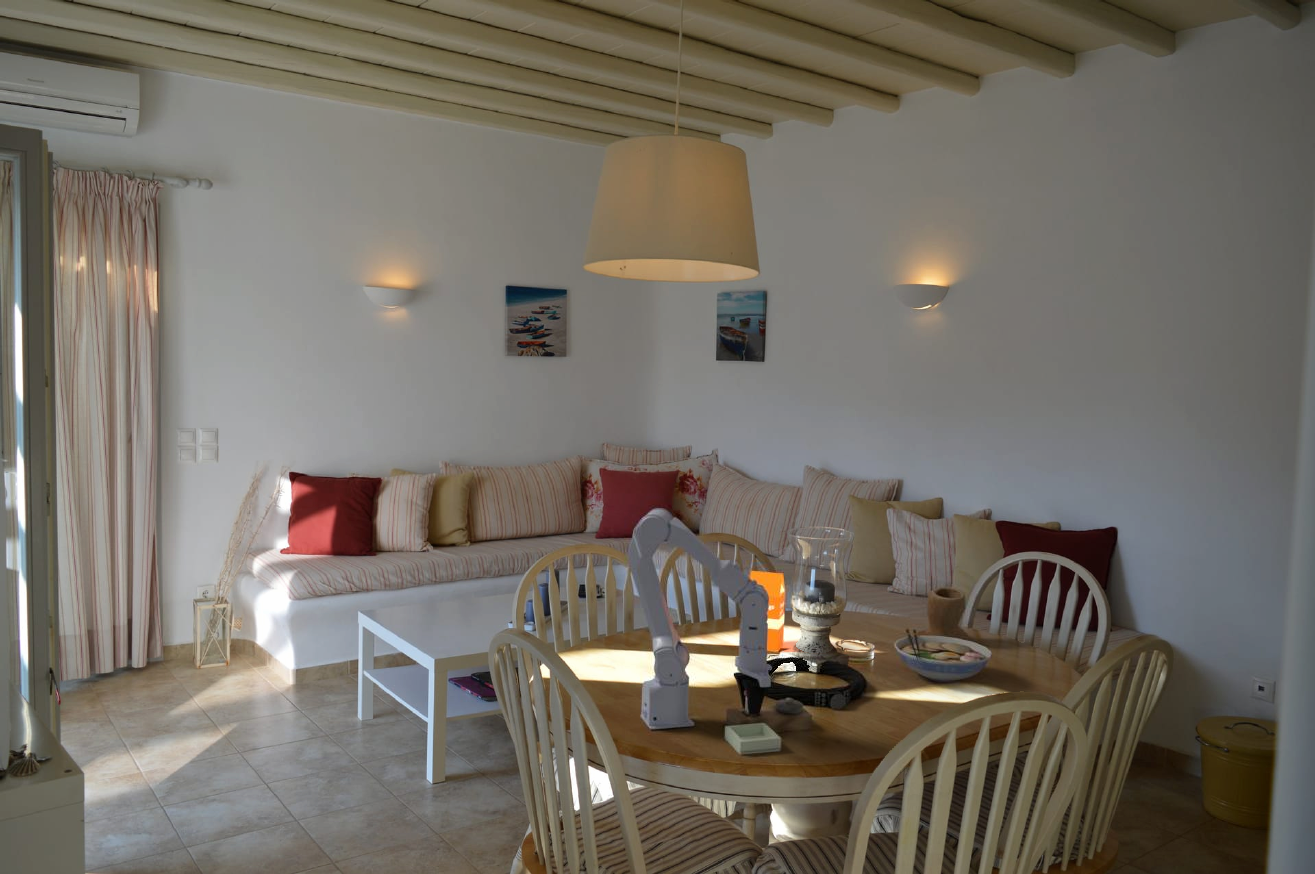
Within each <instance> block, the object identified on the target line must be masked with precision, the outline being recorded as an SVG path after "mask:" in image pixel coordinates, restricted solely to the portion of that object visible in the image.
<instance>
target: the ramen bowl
mask: <svg viewBox="0 0 1315 874" xmlns="http://www.w3.org/2000/svg"><path fill="white" fill-rule="evenodd" d="M912 632H913V636H911V633H910V630H909V629H908V628H906V629H905V633H906V635H907V636H905V637H902V638H900V639H899V638H898V639H897V640H896V641H895V642H894V644H893V645H894V648H895V650H896V652H897V654H898V656H899V657H900V659H901V660H902V662H904V664H905V665H906V667H908V668H909V669H910V670H911V671H913V672H915V673H917V674H918V675H920V676H923V677H925V678H926V679H928V680H930V681H933V682H938V683H953V682H957V681H959V680H964V679H968V678H970V677H973V676H974V675H976V674H978V673H979V672H981V671H982V670H983V669H984V667H985V666H986V665H988V662H989V660H990V658H991V657H992V653H993V651H992V650H990V649H989V648H988V647H987V646H984V645H982V644H979V643H978V642H975V641H971V640H968V639H958V638H951V637H943V636H917V635H916V633H917V630H916V629H912Z"/></svg>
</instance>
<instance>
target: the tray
mask: <svg viewBox="0 0 1315 874" xmlns="http://www.w3.org/2000/svg"><path fill="white" fill-rule="evenodd" d="M724 739H725V741H727V742H728V744H729V745H730V746H731V747H733V749H734V750H735V751H736V752H737V753H738V754H739V755H751V754H760V753H761V754H762V753H771V752H781V751H782V738H781V736H780V735H779V734H777V732H774V731H773V730H772V729H771V728H769V727H768V726H767V725H766V724H765V723H757V724H745V725H733V726H728V725H724ZM780 750H781V751H780Z"/></svg>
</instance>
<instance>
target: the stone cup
mask: <svg viewBox="0 0 1315 874" xmlns="http://www.w3.org/2000/svg"><path fill="white" fill-rule="evenodd" d="M965 609H966V596H965V594H964V593H963V592H962V591H961V590H959V589H957V588H954V587H949V586H939V587H935V588H934V589H932V590H931V591H930V592H929V594H928V597H927V603H926V613H927V618H928V624H929V625H928V629H925V630H921V631H919V632H916V635H917V636H943V637H951V638H958V639H963V640H967V639H968V638H969V633H968V632H966V631H965V630H964V629H963V628H962V627H961V626H960V625H959V624H960V622H961V619H962V617H963V615H964V611H965Z"/></svg>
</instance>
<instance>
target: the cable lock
mask: <svg viewBox="0 0 1315 874" xmlns="http://www.w3.org/2000/svg"><path fill="white" fill-rule="evenodd" d="M803 658H804V657H796V656H794V657H793V656H788V657H776V658H772V659H769V660H768V659H767V664H769V665H770V666H772V670H768V674H769V676H771V675H770V674H772V673H773V672H774V671H775V670H776V669H777V668H778V666H780V665H781V664H783V663H790V662H793V663H794V664H795V666H796V672H797V673H798V672H799V673H800V672H801V673H804V672H805V673H807V672H808V671H809V669H808V668H809V667H810V666H809V665H807V661H805V660H803ZM772 675H773V674H772ZM819 675H828V676H830V677H834V678H839V679H842V680H843V681H845V682H846V683H849V684H848V685H845V686H836V687H832V688H831V687H830V688H812V687H811V688H810V687H809V688H808V687H807V688H805V687H800V686H799V687H798V686H793V685H786V684H783V683H780V682H775V681H773V680H771V686H770V687H769V689H768V690H767V692H766V694H765V696H766V697H770V698H772V699H775V700H777V701H778V700H783V699H786V698H792V699H793V700H796V701H799V702H801V703H802V704H803V705H814V706H817V707H825V706H826V707H827V708H828V709H832V710H835V711H837V710H843V709H844V707H846V705H848V704H849V702H851V701H854V700H856V699H859V698H861V697H862V696H863V695H864V694H865V693H866V692H867V689H868V682H867V681H868V680H867V679H866V678H865V676H864V675H863V674H862V673H861V672H860V671H859V670H857V669H855V668H853V667H851V666H849V665H848V664H843V663H840V662H837V661H834V660H827V661H826V662H824V663H822V666H821V668H820V674H819Z"/></svg>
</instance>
